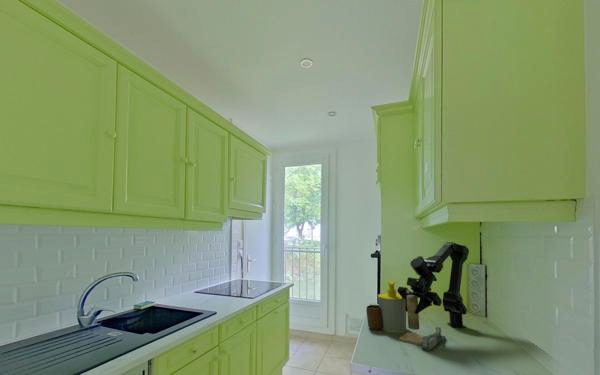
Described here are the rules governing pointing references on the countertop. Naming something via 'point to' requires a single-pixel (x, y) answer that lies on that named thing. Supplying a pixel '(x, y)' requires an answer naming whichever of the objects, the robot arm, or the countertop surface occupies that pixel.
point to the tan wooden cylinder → (412, 312)
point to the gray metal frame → (433, 340)
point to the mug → (374, 317)
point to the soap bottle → (393, 310)
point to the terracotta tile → (412, 338)
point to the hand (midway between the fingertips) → (410, 312)
